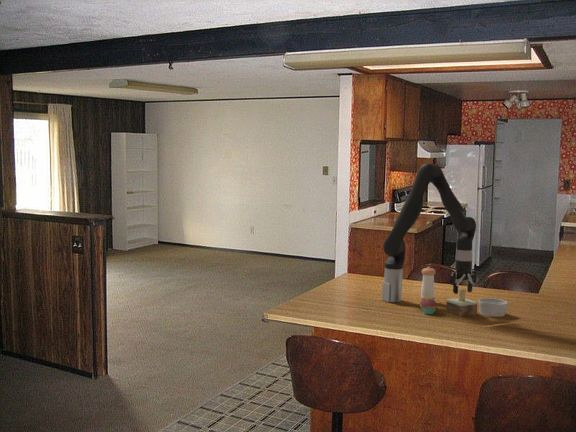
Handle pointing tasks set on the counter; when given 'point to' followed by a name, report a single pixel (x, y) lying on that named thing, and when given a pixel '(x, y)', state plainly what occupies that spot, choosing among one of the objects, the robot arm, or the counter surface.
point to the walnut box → (461, 309)
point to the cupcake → (428, 305)
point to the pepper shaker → (428, 284)
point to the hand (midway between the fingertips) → (462, 292)
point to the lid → (461, 299)
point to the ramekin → (492, 307)
